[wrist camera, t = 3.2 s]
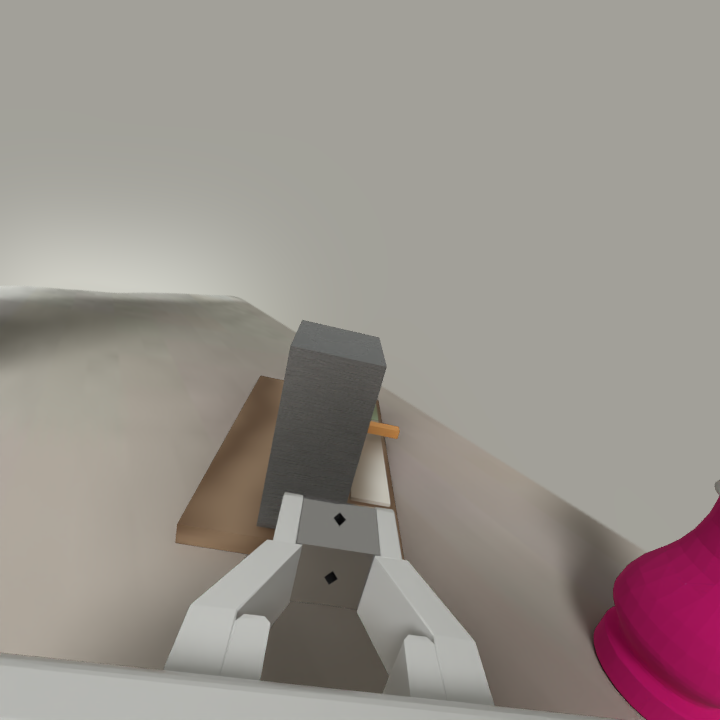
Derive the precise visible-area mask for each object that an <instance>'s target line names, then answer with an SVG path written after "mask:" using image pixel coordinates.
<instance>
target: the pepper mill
mask: <svg viewBox="0 0 720 720" xmlns="http://www.w3.org/2000/svg"><path fill="white" fill-rule="evenodd" d="M715 490H716V491H717V493H718V494H719V498H718V500H717V502H716V503H715V505H714V507H713V509H712V510H711V512H710V513H709V514H708V515H707V516H706V518H704V520H703V521H702V522H701V523H700V524H699V525H698V526H697V527H696V528H695V529H694V530H692V531H691V532H689V533H688V534H686V535H685V536H684V537H682V538H681V539H679V540H677V541H675V542H673V543H671V544H668V545H666V546H664V547H661V548H658V549H656V550H653V551H650V552H648V553H645V554H643V555H642V556H640V557H639V558H637V559H636V560H634V561H632V562H631V563H630V564H628V565H627V566H626V568H625V569H624V570H623V571H622V572H621V574H620V575H619V576H618V577H617V579H616V581H615V583H614V588H613V599H614V603H615V606H614V607H612V608H610V609H609V610H608V611H607V612H606V614H605V615H604V616H603V618H602V619H601V621H600V622H599V624H598V625H597V626H596V628H595V631H594V646H595V650H596V653H597V656H598V658H599V661H600V663H601V665H602V667H603V669H604V671H605V672H606V674H607V675H608V677H609V679H610V680H611V682H612V683H613V685H614V686H615V688H616V689H617V690H618V691H619V692H620V693H621V695H622V696H623V697H624V698H625V699H626V700H627V701H628V703H629V704H630V705H631V706H632V707H633V708H634V709H636V710H637V711H638V712H639V713H640V714H641V715H642V716H643V717H644V718H645V719H646V720H720V480H719V481H717V482H716V483H715Z"/></svg>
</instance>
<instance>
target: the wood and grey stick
mask: <svg viewBox="0 0 720 720" xmlns="http://www.w3.org/2000/svg"><path fill="white" fill-rule="evenodd" d="M399 432H400V431H399V427H397V426H392V425H387V424H382V423H377V422H373V421H371V422H370V425H369V429H368V432H367V433H370V434H375V435H380V436H385V437H390V438H395V439H397V438H398V435H399Z"/></svg>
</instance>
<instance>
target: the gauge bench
mask: <svg viewBox="0 0 720 720" xmlns="http://www.w3.org/2000/svg"><path fill="white" fill-rule="evenodd" d="M283 384H284V380H279V379H274V378H269V377H265V376H260V377H259V379H258V381H257V383H256V385H255V386H254V388H253V390H252V392H251V393H250V395H249V397H248V399H247V401H246V402H245V404H244V406H243V408H242V409H241V411H240V413H239V415H238V417H237V418H236V420H235V422H234V424H233V426H232V427H231V429H230V431H229V433H228V434H227V436H226V438H225V440H224V442H223V443H222V445H221V447H220V449H219V450H218V452H217V454H216V456H215V458H214V459H213V461H212V463H211V465H210V466H209V468H208V470H207V472H206V474H205V475H204V477H203V479H202V481H201V483H200V484H199V486H198V488H197V490H196V491H195V493H194V495H193V497H192V499H191V500H190V502H189V504H188V506H187V507H186V509H185V511H184V513H183V515H182V516H181V518H180V520H179V522H178V524H177V532H176V542H175V543H180V544H186V545H193V546H199V547H205V548H212V549H218V550H225V551H231V552H238V553H244V554H251V553H252V552H253V551H254V550H255V549H257V548H258V547H259V546H260V545H261V544H262V543H264V542H265V541H266V540H273V538H274V534H275V529H271V528H265V527H259V526H256V525H257V520H258V515H259V510H260V504H261V499H262V494H263V489H264V483H265V478H266V473H267V468H268V462H269V457H270V452H271V447H272V441H273V436H274V431H275V426H276V420H277V415H278V410H279V405H280V399H281V394H282V389H283ZM371 421H373V422H377V423H382V420H381V413H380V407H379V401H378V400H377V401H376V405H375V408H374V411H373V415H372V418H371ZM347 503H350V504H357V505H363V506H369V507H379V508H386V509H392V510H393V511H394V513H395V519H396V525H397V531H398V537H399V543H400V549H401V555H402V560H404V555H403V549H402V543H401V537H400V530H399V524H398V518H397V512H396V506H395V500H394V493H393V487H392V481H391V475H390V469H389V463H388V457H387V450H386V444H385V438H384V436H380V435H375V434H370V433H367V435H366V439H365V442H364V446H363V449H362V452H361V456H360V459H359V463H358V466H357V469H356V473H355V476H354V480H353V483H352V487H351V490H350V493H349V497H348V500H347Z"/></svg>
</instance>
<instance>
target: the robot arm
mask: <svg viewBox="0 0 720 720" xmlns="http://www.w3.org/2000/svg"><path fill="white" fill-rule="evenodd" d="M289 601H292V602H302V603H312V604H322V605H328V606H335V607H341V608H347V609H353V610H357V614H358V616H359V618H360V620H361V621H362V623H363V625H364V627H365V629H366V631H367V633H368V635H369V637H370V639H371V641H372V643H373V645H374V647H375V649H376V651H377V653H378V655H379V657H380V659H381V661H382V663H383V665H384V667H385V669H386V671H387V673H388V675H389V678H388V681H387V683H386V686H385V688H384V691H383V693H382V694H379V693H370V692H361V691H351V690H342V689H333V688H324V687H315V686H306V685H296V684H287V683H278V682H269V681H260V678H261V672H262V667H263V662H264V656H265V651H266V645H267V640H268V634H269V629H270V627H271V626H272V625H273V624H274V622H275V621H276V620H277V618H278V617H279V616H280V615H281V613H282V612H283V611H284V609H285V608H286V607H287V606H288V604H289ZM0 720H622V719H612V718H603V717H594V716H585V715H576V714H566V713H557V712H548V711H539V710H529V709H520V708H511V707H501V706H495V705H494V702H493V699H492V695H491V692H490V689H489V685H488V682H487V679H486V676H485V672H484V669H483V666H482V662H481V659H480V656H479V652H478V649H477V646H476V643H475V641H474V640H473V638H472V637H471V636H470V635H469V634H468V632H467V631H466V630H465V629H464V628H463V626H462V625H461V624H460V623H459V622H458V620H457V619H456V618H455V617H454V616H453V614H452V613H451V612H450V611H449V610H448V608H447V607H446V606H445V605H444V603H443V602H442V601H441V600H440V599H439V597H438V596H437V595H436V594H435V593H434V591H433V590H432V589H431V588H430V587H429V585H428V584H427V583H426V582H425V581H424V579H423V578H422V577H421V576H420V575H419V573H418V572H417V571H416V570H415V569H414V567H413V566H412V565H411V564H410V563H409V561H408V560H402V555H401V549H400V543H399V537H398V531H397V525H396V519H395V513H394V511H393V510H392V509H386V508H379V507H369V506H363V505H357V504H350V503H344V502H338V501H332V500H327V499H322V498H316V497H311V496H306V495H304V497H303V495H299V494H293V493H288V492H285V493H284V496H283V500H282V504H281V508H280V512H279V517H278V521H277V525H276V529H275V534H274V538H273V540H266V541H265V542H264V543H262V544H261V545H260V546H259V547H258V548H257V549H255V550H254V551H253V552H252V553H251V554H250V555H248V556H247V557H246V558H245V559H244V560H242V561H241V562H240V563H239V564H238V565H237V566H235V567H234V568H233V569H232V570H231V571H229V572H228V573H227V574H226V575H225V576H224V577H222V578H221V579H220V580H219V581H218V582H217V583H215V584H214V585H213V586H212V587H211V588H209V589H208V590H207V591H206V592H205V593H204V594H202V595H201V596H200V597H199V598H198V599H196V600H195V601H194V602H193V603H192V604H191V605H190V607H189V609H188V612H187V614H186V616H185V619H184V621H183V624H182V626H181V628H180V631H179V633H178V635H177V638H176V640H175V643H174V645H173V647H172V650H171V652H170V655H169V657H168V659H167V662H166V664H165V667H164V669H163V670H158V669H149V668H139V667H130V666H121V665H112V664H102V663H93V662H84V661H75V660H65V659H56V658H47V657H38V656H28V655H19V654H10V653H1V652H0Z"/></svg>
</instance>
